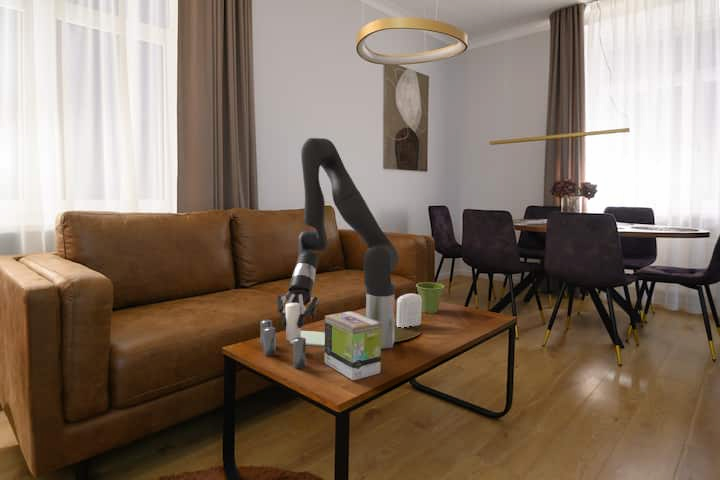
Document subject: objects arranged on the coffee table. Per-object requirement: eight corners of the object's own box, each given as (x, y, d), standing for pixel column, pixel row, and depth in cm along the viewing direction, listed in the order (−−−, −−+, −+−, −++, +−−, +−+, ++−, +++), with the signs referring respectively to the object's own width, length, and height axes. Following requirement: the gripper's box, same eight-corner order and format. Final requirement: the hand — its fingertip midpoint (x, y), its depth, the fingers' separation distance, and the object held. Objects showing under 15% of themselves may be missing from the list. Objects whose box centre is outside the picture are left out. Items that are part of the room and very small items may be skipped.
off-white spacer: (302, 336, 139) (301, 303, 138) (298, 341, 135) (297, 306, 133) (289, 335, 140) (288, 302, 139) (284, 340, 135) (283, 306, 134)
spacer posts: (344, 349, 140) (344, 325, 139) (330, 371, 122) (331, 344, 121) (263, 342, 145) (263, 319, 144) (239, 363, 127) (238, 336, 126)
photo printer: (415, 322, 169) (416, 291, 168) (422, 325, 166) (423, 293, 164) (394, 326, 164) (395, 294, 162) (401, 329, 160) (402, 296, 159)
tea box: (381, 373, 122) (382, 321, 120) (352, 382, 116) (352, 328, 114) (351, 356, 134) (352, 309, 132) (323, 363, 128) (323, 314, 127)
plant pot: (409, 310, 185) (410, 284, 184) (427, 306, 193) (427, 281, 192) (431, 317, 177) (432, 289, 175) (449, 311, 185) (450, 285, 183)
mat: (334, 334, 154) (334, 333, 154) (325, 346, 142) (325, 344, 142) (301, 332, 156) (301, 330, 156) (290, 343, 144) (290, 341, 144)
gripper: (279, 273, 144) (265, 319, 133) (321, 274, 141) (310, 321, 131) (285, 285, 150) (272, 330, 139) (325, 287, 147) (316, 333, 136)
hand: (291, 326), depth 135 cm, fingers closed on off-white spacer, 4 cm apart
